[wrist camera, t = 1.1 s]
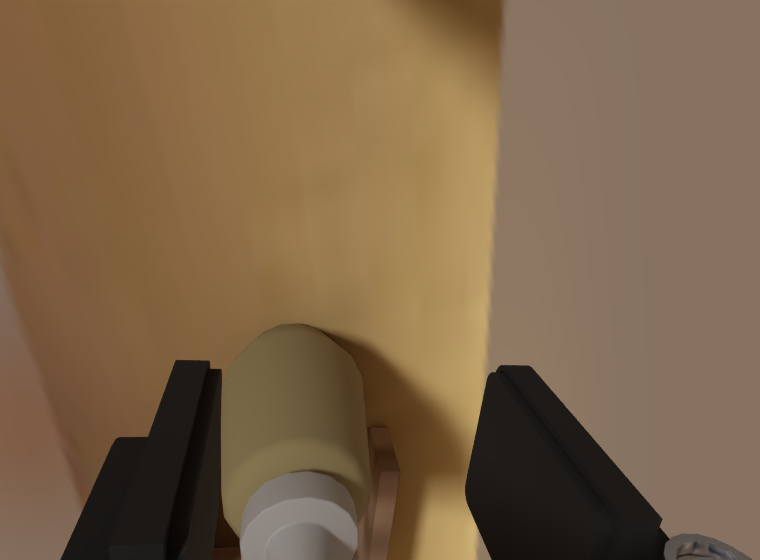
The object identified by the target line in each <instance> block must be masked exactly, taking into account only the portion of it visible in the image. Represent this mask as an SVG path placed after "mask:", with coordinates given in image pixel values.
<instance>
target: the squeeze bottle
mask: <svg viewBox="0 0 760 560" xmlns="http://www.w3.org/2000/svg"><path fill="white" fill-rule="evenodd" d="M221 495H222V504H223V512H224V518H225V519H226V521H227V522H228V524H229V525H230V526H231V528H232V529H233V531H234V532H235V533H236V535H237V536H238V537H239V538H240V551H241V560H351V559H352V557H353V555H354V553H355V551H356V549H357V547H358V545H359V527H358V523H359V522H360V521H361V519H362V517H363V515H364V513H365V511H366V509H367V507H368V505H369V503H370V500H371V472H370V460H369V448H368V437H367V425H366V413H365V402H364V390H363V378H362V376H361V374H360V372H359V370H358V368H357V366H356V364H355V362H354V360H353V357H352V356H351V355H350V354H348V353H347V352H346V351H345V350H344V349H342V348H341V347H340V346H339V345H337V344H336V343H335V342H334V341H332V340H331V339H330V338H329V337H327V336H326V335H325V334H323V333H322V332H321V331H319V330H318V329H316V328H313V327H309V326H306V325H303V324H284V325H279V326H277V327H274V328H272V329H270V330H268V331H265V332H263V333H262V334H261V335H260V336H259V337H258V338H257V339H256V340H255V341H254V342H253V343H251V344H250V345H249V346H248V347H247V348H246V349H245V350H244V351H243V352H242V353H241V354H240V355H239V356H238V357H237V358H236V359H235V361H234V362H233V363H232V364H231V365H230V366H229V369H228V371H227V374H226V377H225V379H224V382H223V385H222V396H221Z"/></svg>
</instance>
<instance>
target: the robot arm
mask: <svg viewBox="0 0 760 560" xmlns="http://www.w3.org/2000/svg"><path fill="white" fill-rule="evenodd" d="M221 396H222V370H221V369H210V361H200V360H176V361H175V364H174V366H173V369H172V372H171V375H170V377H169V380H168V383H167V386H166V389H165V391H164V394H163V397H162V400H161V402H160V405H159V408H158V411H157V413H156V416H155V419H154V422H153V425H152V427H151V430H150V433H149V436H148V437H119V438H117V439H115V441H114V443H113V445H112V446H111V449H110V451H109V453H108V455H107V457H106V460H105V462H104V464H103V466H102V469H101V471H100V473H99V475H98V477H97V480H96V482H95V484H94V486H93V489H92V491H91V493H90V495H89V497H88V500H87V502H86V504H85V506H84V509H83V511H82V513H81V515H80V518H79V520H78V522H77V524H76V526H75V529H74V531H73V533H72V535H71V538H70V540H69V542H68V544H67V547H66V549H65V551H64V553H63V555H62V558H61V560H212V556H213V548H214V541H215V534H216V527H217V519H218V512H219V500H220V456H221ZM465 495H466V501H467V504H468V507H469V509H470V511H471V513H472V516H473V518H474V520H475V523H476V525H477V527H478V529H479V532H480V534H481V536H482V538H483V541H484V543H485V545H486V548H487V550H488V552H489V554H490V557H491V559H492V560H752V559H751V558H749V557H748V556H746V555H745V554H743V553H741V552H740V551H738V550H737V549H735V548H733V547H732V546H729V545H727V544H725V543H723V542H720V541H718V540H716V539H713V538H709V537H706V536H702V535H697V534H680V535H677V536H674V537H672V538H671V539H669V538H668V537H667V535H666V534H665V533H664V532H663V531H662V529H661V528H660V524H661V521H662V518H661V517H660V516H659V515H658V513H657V512H656V511H655V510H654V509H653V507H652V506H651V505H650V504H649V503H648V502H647V501H646V499H645V498H644V497H643V496H642V495H641V494H640V492H639V491H638V490H637V489H636V488H635V487H634V486H633V485H632V483H631V482H630V481H629V480H628V478H627V477H626V476H625V475H624V474H623V473H622V471H621V470H620V469H619V468H618V467H617V466H616V465H615V463H614V462H613V461H612V460H611V459H610V458H609V456H608V455H607V454H606V453H605V452H604V451H603V450H602V448H601V447H600V446H599V445H598V444H597V443H596V441H595V440H594V439H593V438H592V437H591V436H590V434H589V433H588V432H587V431H586V430H585V429H584V427H583V426H582V425H581V424H580V423H579V422H578V421H577V419H576V418H575V417H574V416H573V415H572V413H571V412H570V411H569V410H568V409H567V408H566V407H565V406H564V404H563V403H562V402H561V401H560V400H559V398H558V397H557V396H556V395H555V394H554V393H553V391H552V390H551V389H550V388H549V387H548V386H547V385H546V384H545V382H544V381H543V380H542V379H541V378H540V376H539V375H538V374H537V373H536V372H535V371H534V370H533V368H532V367H530V366H520V365H519V366H517V365H501V366H499V367H498V369H497V370H496V372H492V373H490V374H489V376H488V378H487V382H486V387H485V391H484V396H483V401H482V406H481V411H480V416H479V421H478V425H477V430H476V435H475V440H474V445H473V450H472V455H471V460H470V464H469V469H468V474H467V479H466V485H465Z"/></svg>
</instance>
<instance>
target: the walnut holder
mask: <svg viewBox="0 0 760 560" xmlns="http://www.w3.org/2000/svg"><path fill="white" fill-rule="evenodd" d="M368 448H369V460H370V472H371V500H370V503H369V505H368V507H367V509H366V511H365V513H364V515H363V517H362V519H361V521H360V522H359V523H358V527H359V545H358V547H357V549H356V551H355V553H354V555H353V557H352V559H351V560H387V554H388V548H389V541H390V535H391V528H392V522H393V515H394V509H395V502H396V496H397V489H398V483H399V476H400V469H399V466H398V462H397V459H396V456H395V453H394V449H393V446H392V443H391V440H390V436H389V433H388V430H387V427H370V428H369V436H368ZM212 560H241V551H240V546H238V547H219V548H213V556H212Z"/></svg>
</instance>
